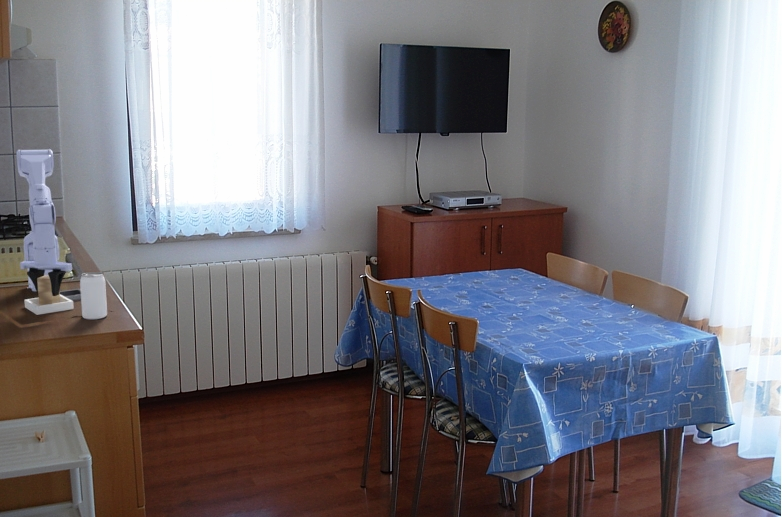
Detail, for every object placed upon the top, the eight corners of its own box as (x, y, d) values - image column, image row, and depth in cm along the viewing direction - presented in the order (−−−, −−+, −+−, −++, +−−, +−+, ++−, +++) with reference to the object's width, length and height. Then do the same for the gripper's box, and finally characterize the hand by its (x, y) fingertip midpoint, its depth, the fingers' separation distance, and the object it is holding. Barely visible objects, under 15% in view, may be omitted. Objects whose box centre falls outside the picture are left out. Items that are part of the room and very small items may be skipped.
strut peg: (39, 306, 224) (37, 278, 222) (47, 302, 227) (45, 275, 226) (52, 306, 223) (50, 278, 221) (60, 303, 227) (58, 275, 225)
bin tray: (25, 309, 226) (24, 299, 225) (61, 304, 232) (60, 294, 231) (36, 317, 218) (36, 306, 218) (73, 311, 225) (73, 301, 224)
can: (99, 320, 216) (96, 277, 214) (77, 319, 217) (74, 276, 215) (111, 314, 222) (109, 272, 220) (90, 313, 223) (88, 271, 221)
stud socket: (50, 299, 237) (50, 292, 237) (81, 294, 243) (80, 287, 243) (61, 305, 231) (60, 298, 230) (92, 300, 236) (91, 293, 236)
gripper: (11, 248, 219) (15, 296, 221) (60, 251, 217) (64, 299, 219) (27, 244, 226) (30, 291, 228) (74, 246, 223) (78, 293, 226)
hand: (48, 294), depth 224 cm, fingers closed on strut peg, 4 cm apart
